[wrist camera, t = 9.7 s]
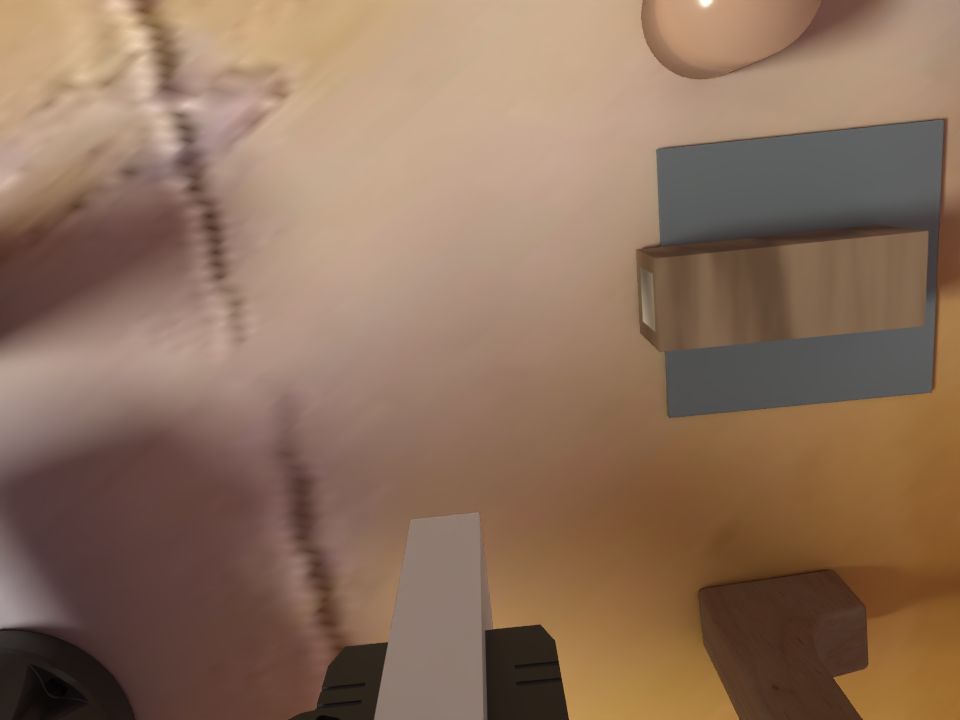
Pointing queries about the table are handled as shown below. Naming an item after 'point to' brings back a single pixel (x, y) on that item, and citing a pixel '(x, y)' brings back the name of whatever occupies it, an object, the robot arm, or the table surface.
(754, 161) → the mat
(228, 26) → the table surface
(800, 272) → the walnut block
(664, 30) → the beige short cylinder
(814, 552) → the table surface
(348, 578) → the table surface
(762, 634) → the wooden block
